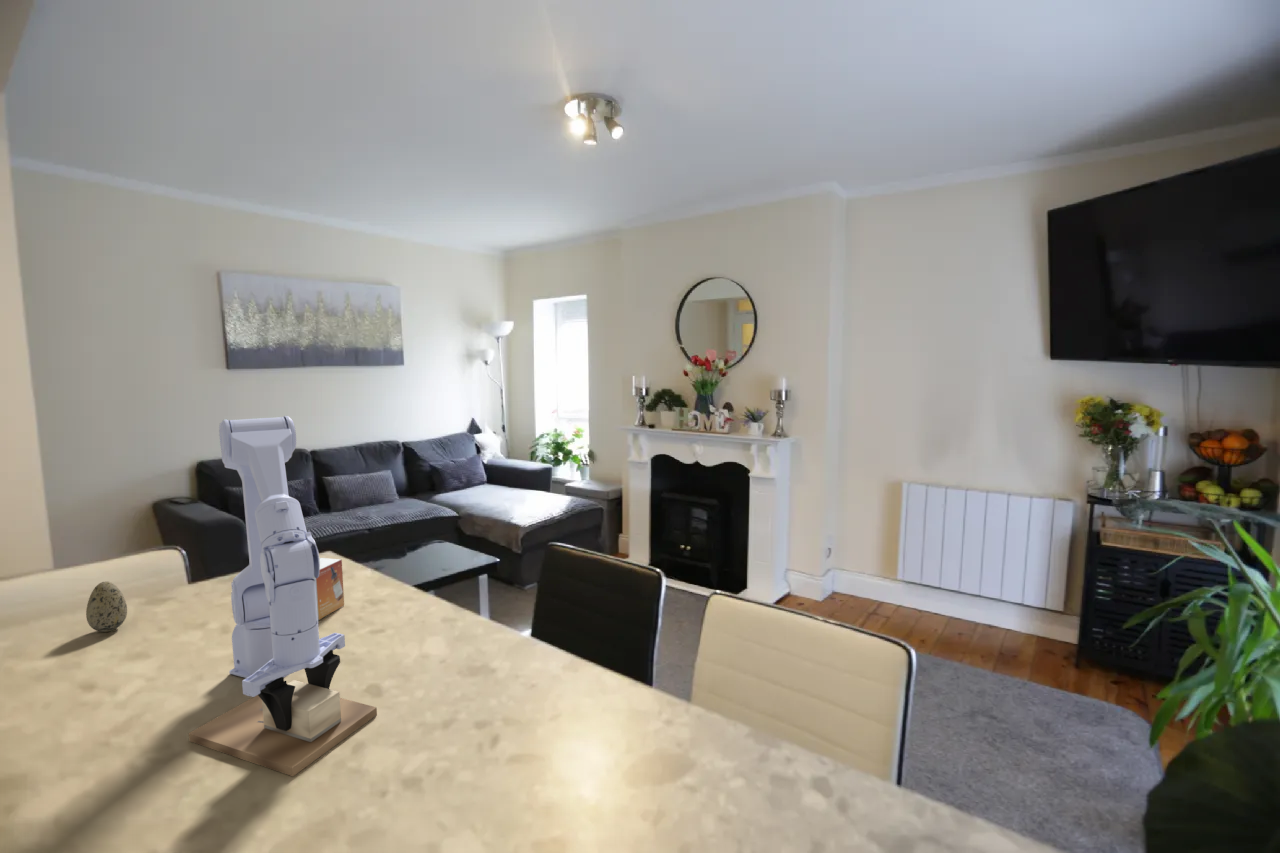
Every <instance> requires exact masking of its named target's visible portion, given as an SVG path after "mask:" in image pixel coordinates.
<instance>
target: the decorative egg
mask: <svg viewBox="0 0 1280 853" xmlns="http://www.w3.org/2000/svg"><path fill="white" fill-rule="evenodd" d="M89 595H90V596H89V598H88V600H87V604H86V609H85V610H86V611H85V613H86V614H85V615H86V621H87V623H88V624H87V625H89V627H90V628H91V629H93V631H97V632H99V633H100V632H101V633H108V632H111V631H114V630H116V629H118V628H119V627H121V625H122V624H124V622H125V620H126V618H127V615H128V604H127V602H126V599H125V596H124V594H123V593H122V591H121V590H120V588H119V587H118V586H117V585H116V584H114V583H113V582H110V581H102V582H100V583H98V584H97V585H96V586H95V587H94V588H93V589H92V591H91V593H90V594H89Z"/></svg>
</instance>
